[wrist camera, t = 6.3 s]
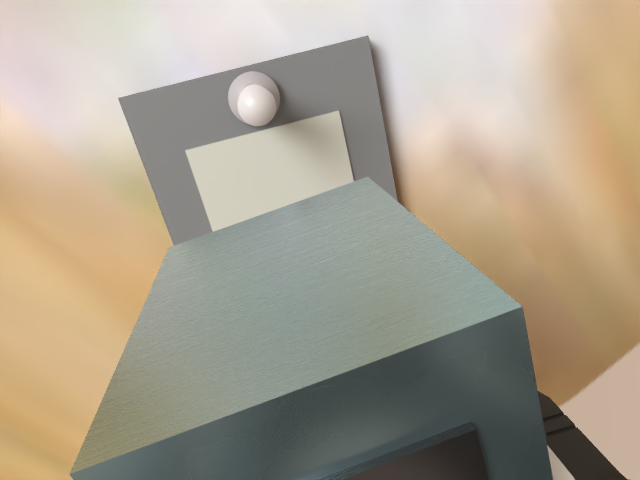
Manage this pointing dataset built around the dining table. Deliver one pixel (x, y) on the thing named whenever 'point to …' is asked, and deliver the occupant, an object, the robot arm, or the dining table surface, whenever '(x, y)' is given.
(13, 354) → the dining table surface
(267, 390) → the block
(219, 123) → the grey flat pegged piece
